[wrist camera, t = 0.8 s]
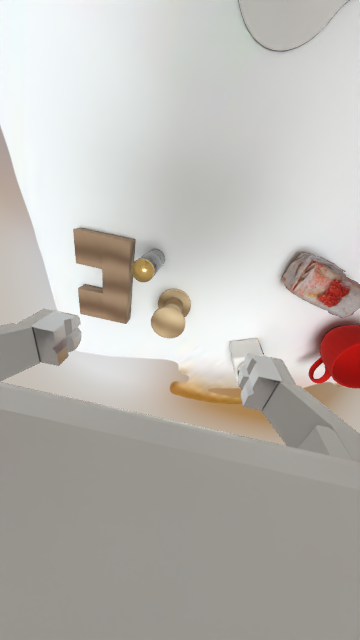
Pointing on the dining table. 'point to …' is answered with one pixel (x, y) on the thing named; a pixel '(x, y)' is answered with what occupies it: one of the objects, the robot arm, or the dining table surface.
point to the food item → (322, 285)
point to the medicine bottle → (243, 352)
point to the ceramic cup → (340, 356)
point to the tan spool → (171, 313)
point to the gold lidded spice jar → (147, 265)
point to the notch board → (106, 274)
